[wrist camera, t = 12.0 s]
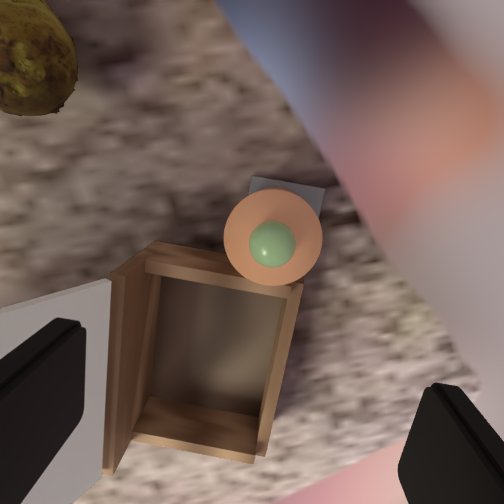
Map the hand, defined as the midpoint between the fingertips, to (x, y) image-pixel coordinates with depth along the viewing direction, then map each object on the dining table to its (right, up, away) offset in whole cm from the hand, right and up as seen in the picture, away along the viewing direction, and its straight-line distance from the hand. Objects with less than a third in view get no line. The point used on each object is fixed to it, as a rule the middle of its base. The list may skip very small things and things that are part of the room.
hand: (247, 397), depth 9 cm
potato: (-17, +20, +18) cm, 31 cm away
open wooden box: (-7, -4, +23) cm, 25 cm away
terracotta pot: (+2, +7, +19) cm, 20 cm away
